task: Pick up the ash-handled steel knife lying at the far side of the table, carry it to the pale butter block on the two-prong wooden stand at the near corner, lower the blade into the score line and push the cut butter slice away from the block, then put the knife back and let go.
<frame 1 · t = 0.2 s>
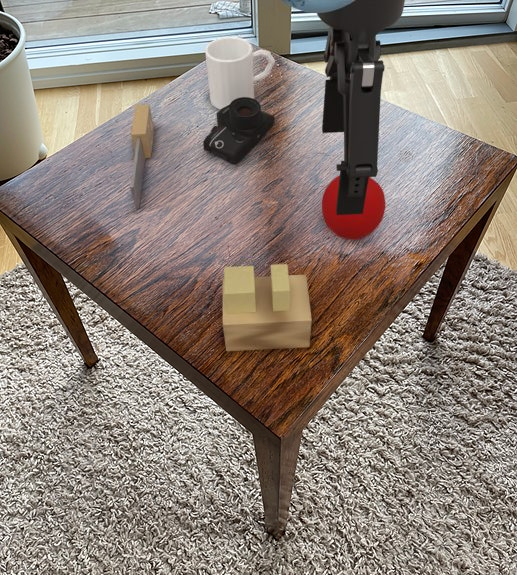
hand: (340, 168, 63), 20 cm above the table, tool pointing down, fingers open, 13 cm apart
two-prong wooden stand: (266, 326, 74), on the table
knife: (145, 143, 98), on the table
butter slice: (280, 297, 69), point 6 cm above the table, touching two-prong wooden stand
fruit: (349, 227, 85), on the table
butter block: (241, 299, 69), resting on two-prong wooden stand
mug: (243, 98, 106), on the table
film camera: (239, 139, 98), on the table
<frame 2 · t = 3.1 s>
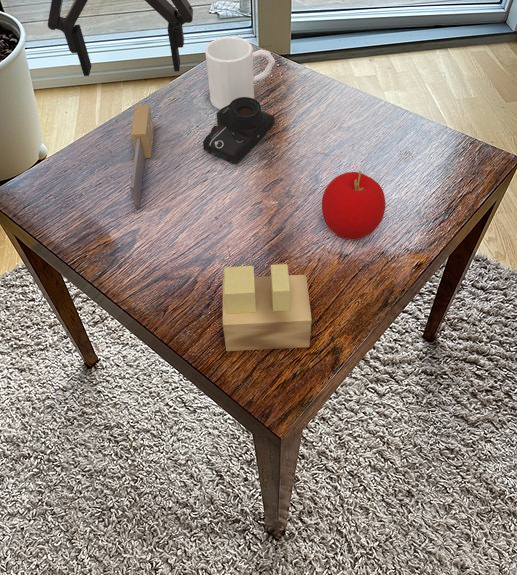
hand: (132, 69, 87), 14 cm above the table, tool pointing down, fingers open, 13 cm apart
nothing on the table moved.
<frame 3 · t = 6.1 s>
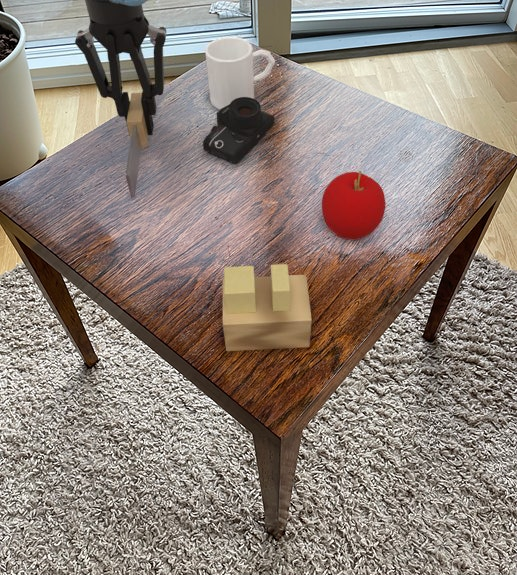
hand: (141, 130, 96), 3 cm above the table, tool pointing down, fingers closed on knife, 2 cm apart
knife: (141, 132, 96), point 2 cm above the table, touching gripper
everything else where it was.
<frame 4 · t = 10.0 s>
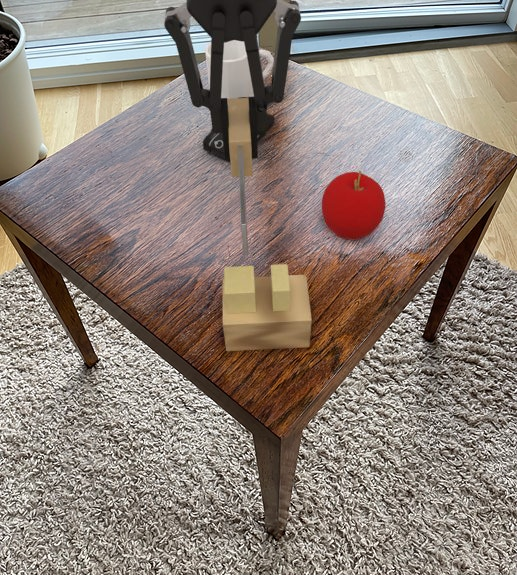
hand: (241, 151, 68), 18 cm above the table, tool pointing down, fingers closed on knife, 2 cm apart
knife: (241, 154, 68), point 18 cm above the table, touching gripper
everything else where it was.
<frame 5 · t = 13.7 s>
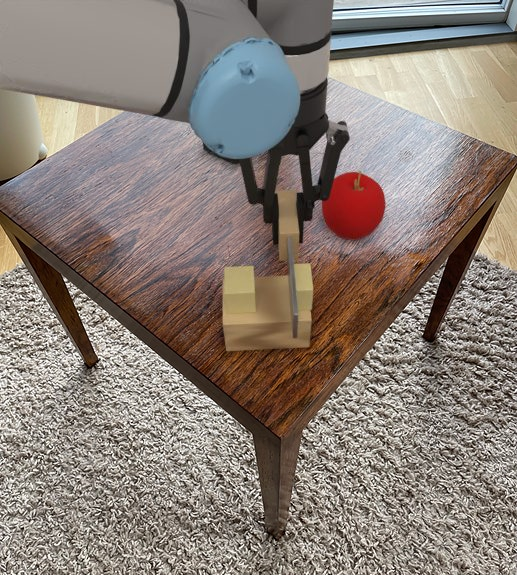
hand: (287, 236, 76), 6 cm above the table, tool pointing down, fingers closed on knife, 2 cm apart
knife: (287, 238, 76), point 6 cm above the table, touching butter slice, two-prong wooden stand, gripper
butter slice: (302, 297, 69), point 6 cm above the table, touching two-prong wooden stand, knife
everything else where it was.
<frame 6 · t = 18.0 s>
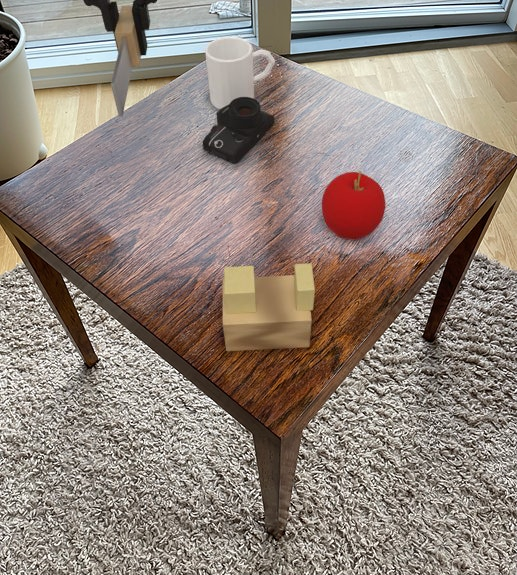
hand: (133, 50, 83), 18 cm above the table, tool pointing down, fingers closed on knife, 2 cm apart
knife: (133, 53, 83), point 18 cm above the table, touching gripper
butter slice: (303, 297, 69), point 6 cm above the table, touching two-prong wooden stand
everything else where it was.
when the fingers open (0 cm above the table, at t = 22.0 s): knife stays where it is, on the table.
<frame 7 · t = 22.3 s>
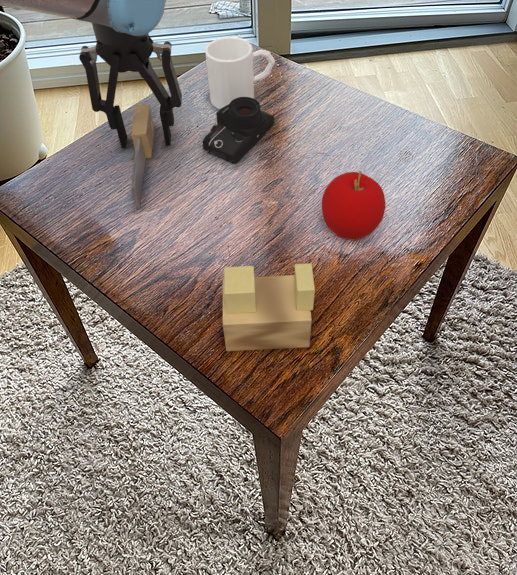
hand: (146, 141, 98), 0 cm above the table, tool pointing down, fingers open, 7 cm apart
knife: (146, 143, 98), on the table
everything else where it was.
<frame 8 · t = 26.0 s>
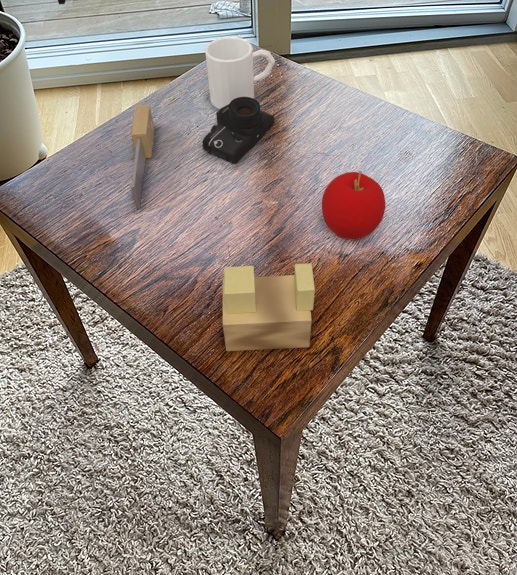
nothing on the table moved.
at the end: butter slice moved 2.8 cm from its start; butter slice touching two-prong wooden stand; the gripper is holding nothing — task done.
